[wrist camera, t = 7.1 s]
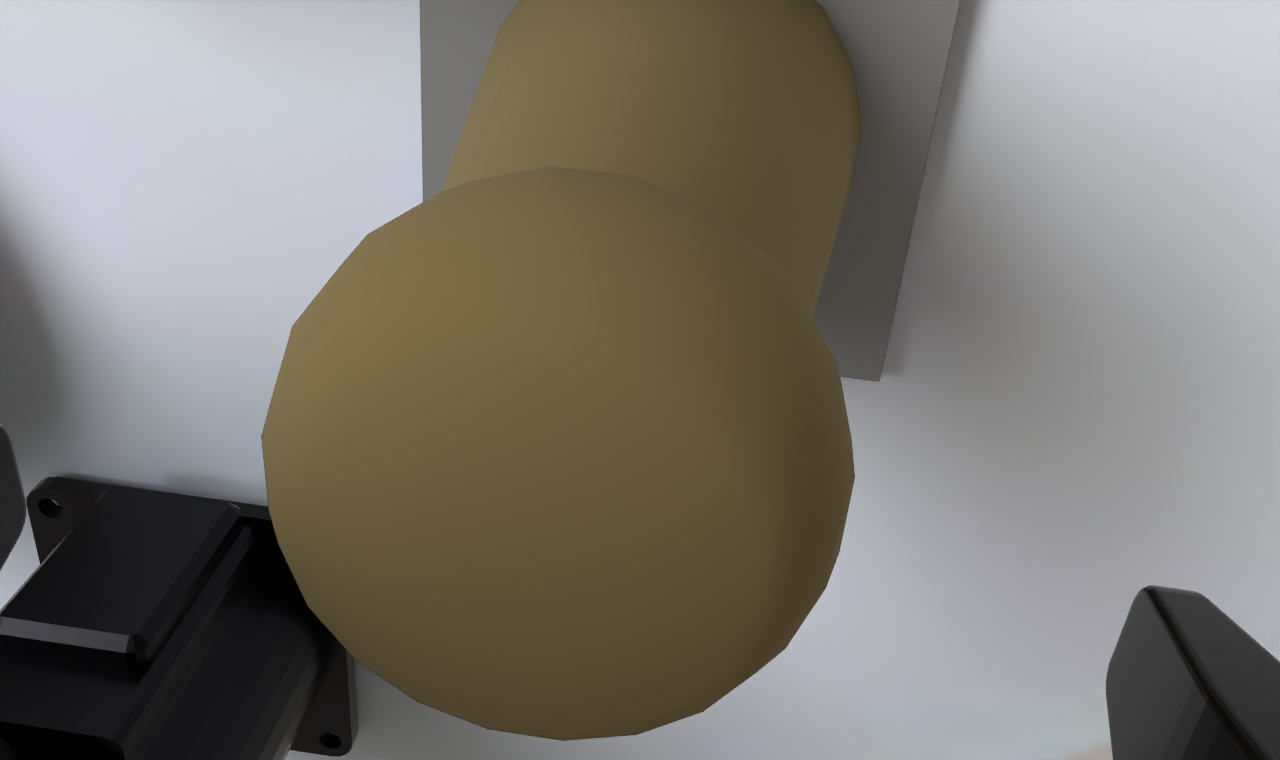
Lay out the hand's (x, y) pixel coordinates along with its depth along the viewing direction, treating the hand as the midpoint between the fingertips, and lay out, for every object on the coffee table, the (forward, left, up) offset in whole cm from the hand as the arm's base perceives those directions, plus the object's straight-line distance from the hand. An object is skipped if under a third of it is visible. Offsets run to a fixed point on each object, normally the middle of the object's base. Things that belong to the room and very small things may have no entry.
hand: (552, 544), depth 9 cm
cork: (0, 0, -11) cm, 11 cm away
